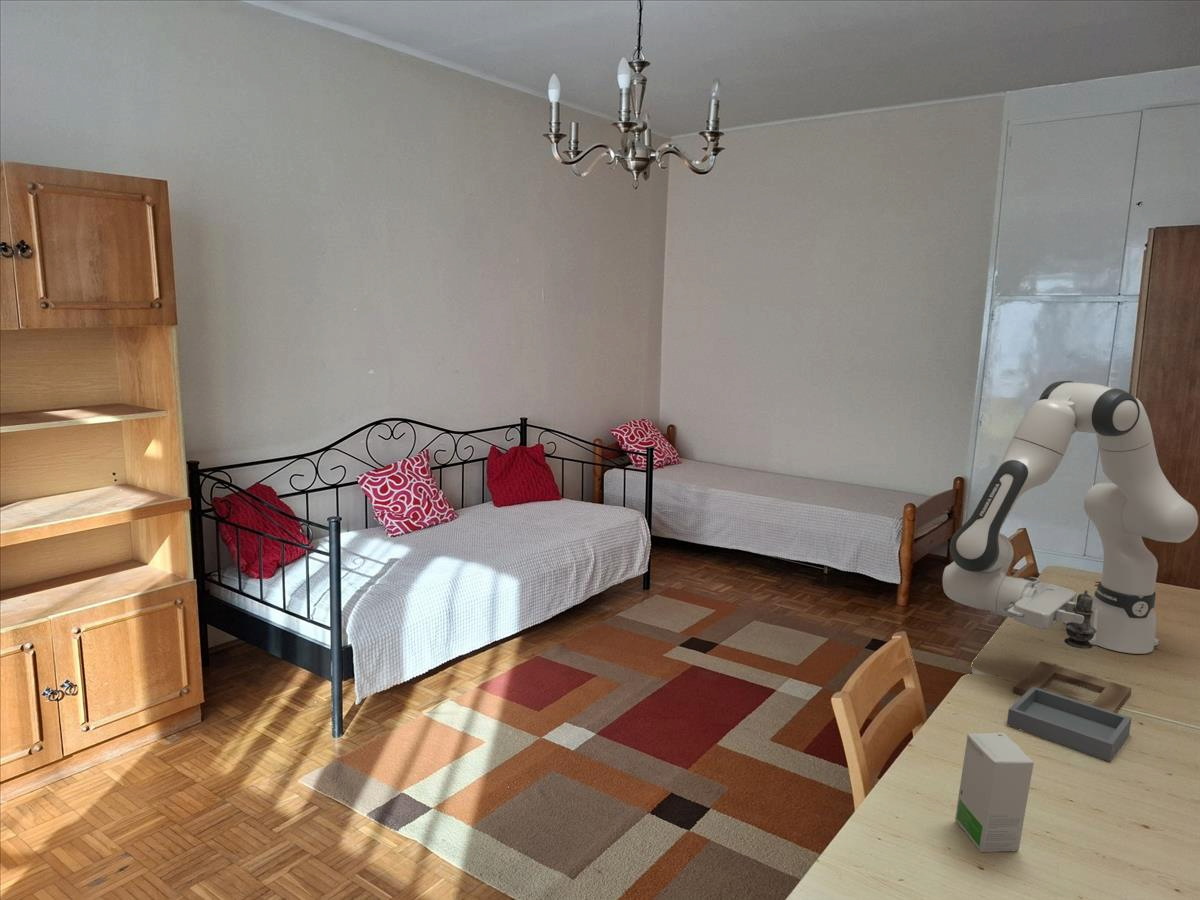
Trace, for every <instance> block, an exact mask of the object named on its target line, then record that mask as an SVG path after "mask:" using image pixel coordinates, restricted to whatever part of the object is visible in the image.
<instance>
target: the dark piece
mask: <svg viewBox="0 0 1200 900" xmlns="http://www.w3.org/2000/svg"><path fill="white" fill-rule="evenodd" d="M1083 592H1084V593H1080V594H1077V596H1076V608H1074V609H1073V610H1074V611H1075V613H1080V614H1084V615H1085V621H1084V622H1083V623H1082V624H1078V623H1074V622H1069V623H1066V624H1065V623H1064V627H1065V631H1066V634H1067V636H1068V637H1066V638H1064V640H1063V641H1064V643H1065V644H1067V645H1068V646H1069V647H1073V648H1076V649H1081V650H1091V649H1093V647H1094V644H1091V643H1090V642H1088V641H1089V640H1091V639H1092V638H1093V637H1094V634H1095V633H1096V632H1097V631H1096V629H1095V628H1093V627H1091V625H1090V619H1091V614H1093V612H1092V611H1091V609H1092V603H1093V598H1092V597H1091V596H1092V595H1090V594H1089V592H1088V590H1087V589H1086V590H1084V591H1083Z"/></svg>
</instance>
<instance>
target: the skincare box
mask: <svg viewBox="0 0 1200 900" xmlns="http://www.w3.org/2000/svg"><path fill="white" fill-rule="evenodd" d="M965 744H966V745H965V750H964V755H963V756H964V757H963V763H962V764H963V765H962V769H961V770H962V771H961V778H960V785H959V791H958V798H957V803H956V804H957V805H956V812H955V816H954V817H955V822H956V821H957V822H956V823H957V824H958V823H959V824H958V826H960V828H961V827H962V828H961V829H962V830H964V831H965V832H964V831H963V832H964V833H965V834H966V836H967V837H968V836H969V837H968V838H969V839H970V841H971V840H972V841H973V842H974V843H975V844H974V843H973V842H972V841H971V842H972V843H973V844H974V846H975V845H976V846H977V847H978V848H977V847H976V846H975V847H976V848H977V850H978V849H979V850H980V851H981V852H987V853H999V852H998V851H1013V850H1015V851H1013V852H1017V851H1016V850H1019V851H1020V845H1021V839H1022V834H1023V826H1024V821H1025V816H1026V810H1027V803H1028V797H1029V793H1030V786H1031V780H1032V775H1033V769H1034V763H1035V762H1034V761H1033V760H1032V759H1031V758H1030V757H1029V756H1028V755H1027V754H1026V753H1025V752H1024V751H1023V750H1022V748H1021V747H1020V746H1019V745H1018V744H1017V743H1015V742H1014V741H1012V739H1011V738H1010V737H1009V736H1008V735H1006V733H1004V732H989V733H987V732H983V733H982V732H981V733H967V736H966V743H965ZM979 850H978V851H979ZM980 851H979V852H980ZM981 852H980V853H981Z"/></svg>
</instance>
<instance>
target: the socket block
mask: <svg viewBox="0 0 1200 900" xmlns="http://www.w3.org/2000/svg"><path fill="white" fill-rule="evenodd" d="M1054 678H1055V679H1054ZM1057 679H1058V680H1057ZM1053 680H1057V681H1060V680H1062V681H1061V682H1063V681H1065V682H1064V683H1067V682H1068V684H1070V683H1071V684H1070V685H1073V684H1075V685H1074V686H1076V685H1078V686H1077V687H1080V686H1081V688H1083V687H1084V688H1083V689H1086V688H1087V689H1086V690H1089V689H1090V691H1093V692H1095V693H1096V692H1097V693H1099V695H1098V696H1097V697H1096V698H1095V699H1094V701H1093V702H1090V701H1087V700H1083V699H1080V698H1077V697H1074V696H1071V695H1068V694H1064V693H1061V692H1058V691H1055V690H1052V689H1049V688H1046V687H1047V686H1048V685H1049V684H1050V683H1051V682H1052V681H1053ZM1032 686H1033V687H1036V688H1039V689H1043V690H1046V691H1049V692H1052V693H1055V694H1058V695H1061V696H1064V697H1068V698H1071V699H1074V700H1077V701H1080V702H1083V703H1086V704H1090V705H1093V706H1096V707H1099V708H1102V709H1105V710H1108V711H1112V712H1115V713H1118V712H1119V710H1120V709H1122V706H1123V705H1124V704H1125V702H1126V701H1127V700H1128V699H1129V698H1130V696H1131V694H1132V687H1129V686H1126V685H1122V684H1120V683H1116V682H1112V681H1109V680H1105V679H1102V678H1099V677H1096V676H1093V675H1089V674H1086V673H1082V672H1080V671H1075V670H1072V669H1068V668H1065V667H1061V666H1059V665H1056V664H1052V663H1049V662H1046V661H1040V662H1038V663H1037V665H1036V666H1034V667H1033V668H1032V669H1031V670H1030V671H1029V672H1027V673H1026V674H1025V675H1024V676H1023V677H1022V678H1021V679H1020V680H1019V681H1018V682H1017V683H1016V684H1014V686H1013V688H1012V690H1013V691H1012V694H1016V695H1018V694H1019V696H1021V695H1022V696H1023V695H1024V694H1025V693H1026V692H1027V691H1028V690H1029V689H1030V688H1031V687H1032ZM1022 696H1021V697H1022Z"/></svg>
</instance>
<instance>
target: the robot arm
mask: <svg viewBox="0 0 1200 900" xmlns="http://www.w3.org/2000/svg"><path fill="white" fill-rule="evenodd" d="M1076 432H1081V433H1088V434H1094V435H1096V443H1097V448H1098V451H1099V457H1100V462H1101V467H1102V471H1103V473H1104V474H1103V475H1105V476H1106V478H1107V479H1108V480H1109V481H1111V482H1099V483H1096V484H1094V485H1092V487H1090V488H1089V489H1088V490H1087V492H1086V494H1085V495H1084V499H1083V508H1084V512H1085V514H1086V516H1087V517H1088V518H1089V519H1090V520H1091V521H1092V523H1093V524H1094V526H1095V527H1096V529H1097V532H1098V534H1099V537H1100V541H1101V544H1102V550H1103V551H1102V553H1103V563H1102V571H1101V572H1102V573H1101V581H1094V583H1095V584H1094V585H1093V586H1094V587H1096V589H1095V591H1094V594H1092V595H1090V596H1091V597H1092V598H1093V603H1092V609H1091V611H1092V612H1093V614H1091V619H1090V625H1091V627H1093V628H1095V629H1096V631H1097V632H1096V633H1095V634H1094V637H1093V638H1092V639H1091V640H1089V641H1088V642H1090V643H1091V644H1092V645H1093V646H1098V647H1100V648H1101V647H1102V648H1104V649H1107V650H1110V651H1115V652H1119V653H1124V654H1125V653H1127V654H1134V655H1135V654H1136V655H1140V654H1143V655H1144V654H1149V653H1151V652H1153V651H1154V649H1155V647H1156V646H1159V639H1158V638H1156V624H1157V613H1156V611H1155V610H1154V608H1155V604H1156V601H1157V599H1156V597H1157V595H1156V592H1155V589H1156V582H1157V575H1158V568H1159V564H1158V559H1157V558H1156V556H1155V555H1154V554H1153V552H1151V551H1150V550H1149V549H1148V548H1147V546H1146V545H1145V543H1144V540H1143V538H1146V539H1150V540H1154V541H1157V542H1166V543H1177V544H1178V543H1182V542H1185V541H1187V540H1189V539H1190V538H1191V537H1192V536H1193V535H1194V533H1196V531H1197V528H1198V525H1199V515H1198V512H1197V510H1196V508H1195V506H1194V505H1192V504H1191V503H1190V502H1189V501H1188V500H1186V499H1185V498H1184V497H1182V496H1181V495H1180V494H1179V493H1178V492H1177V491H1176V489H1175V488H1174V487H1173V486H1172V485H1171V483H1170V482H1169V479H1167V477H1166V476H1165V474H1164V472H1163V470H1162V467H1161V466H1160V463H1159V458H1158V455H1157V451H1156V445H1155V441H1154V440H1155V439H1154V434H1153V431H1152V427H1151V422H1150V419H1149V416H1148V414H1147V411H1146V408H1145V406H1144V405H1143V403H1142V402H1141V401H1140V400H1139V399H1138V398H1137V397H1135V396H1134V395H1133V394H1131V393H1130V392H1129V391H1126V390H1123V389H1120V388H1112V387H1110V386H1106V385H1102V384H1098V383H1091V382H1090V383H1085V382H1074V381H1071V380H1061V381H1060V380H1059V381H1056V382H1055V381H1054V382H1053V383H1051V384H1050V385H1048V386H1047V387H1045V388H1044V390H1043V392H1042V393H1041V395H1040V397H1039V399H1038V400H1037V401H1036V402H1034V403H1033V404H1032V406H1031V407H1030V408H1029V409H1028V411H1027V412H1026V414H1025V415H1024V416H1023V418H1022V419H1021V421H1020V422H1019V424H1018V426H1017V428H1016V429H1015V432H1014V434H1013V436H1012V438H1011V440H1010V442H1009V445H1008V446H1007V449H1006V450H1005V453H1004V455H1003V458H1002V459H1001V462H1000V464H999V465H998V468H997V470H996V472H995V473H994V476H993V477H992V479H991V481H990V482H989V484H988V486H987V487H986V490H985V491H984V492H983V495H982V497H981V499H980V500H979V502H978V504H977V505H976V508H975V510H974V511H973V513H972V515H971V516H970V517H969V519H968V520H967V521H966V522H965V523H964V524H963V525H962V526H961V527H959V528H957V530H956V531H955V532H953V535H952V536H951V538H950V541H949V554H950V556H951V558H952V562H951V563H950V564H948V565H946V566H945V567H944V570H943V573H942V576H941V583H942V584H941V585H942V588H943V592H944V593H945V595H946V596H947V597H948V598H949V599H950V600H952V601H955V602H957V603H959V604H961V605H965V606H967V607H971V608H974V609H978V610H989V611H992V612H993V613H995V614H997V615H1000V616H1004V617H1007V618H1010V619H1013V620H1014V621H1017V622H1019V623H1021V624H1024V625H1027V626H1030V627H1033V628H1035V629H1036V628H1037V629H1040V630H1049V629H1050V628H1051V627H1053V626H1054V625H1055V624H1056V623H1057V622H1061V623H1064V625H1065V624H1066V623H1069V622H1074V623H1078V624H1082V623H1083V622H1084V621H1085V615H1084V614H1080V613H1075V611H1074V610H1073V609H1074V608H1076V602H1077V596H1078V594H1077V592H1075V591H1074V590H1072V589H1070V588H1067V587H1063V586H1061V585H1058V584H1053V583H1049V582H1044V581H1040V578H1038V577H1033V576H1028V577H1014V576H1010V575H1009V576H1008V575H1007V574H1008V573H1009V570H1010V567H1011V565H1012V563H1013V560H1014V555H1015V549H1014V545H1013V543H1012V542H1011V540H1010V539H1009V537H1007V536H1006V535H1004V534H1002V533H1000V532H1001V530H1002V528H1003V526H1004V524H1005V522H1006V521H1007V519H1008V517H1009V515H1010V513H1011V511H1012V510H1013V508H1014V506H1015V504H1016V502H1017V501H1018V499H1019V498H1020V497H1021V496H1022V495H1023V494H1024V493H1026V492H1028V491H1029V490H1031V489H1033V488H1036V487H1040V486H1042V485H1044V484H1047V483H1048V481H1049V480H1050V479H1051V478H1052V477H1053V475H1054V474H1055V473H1056V472H1057V470H1058V468H1059V466H1060V465H1061V463H1062V461H1063V458H1064V456H1065V454H1066V452H1067V450H1068V448H1069V445H1070V442H1071V440H1072V439H1071V438H1072V436H1073V435H1074V434H1075V433H1076Z"/></svg>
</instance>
